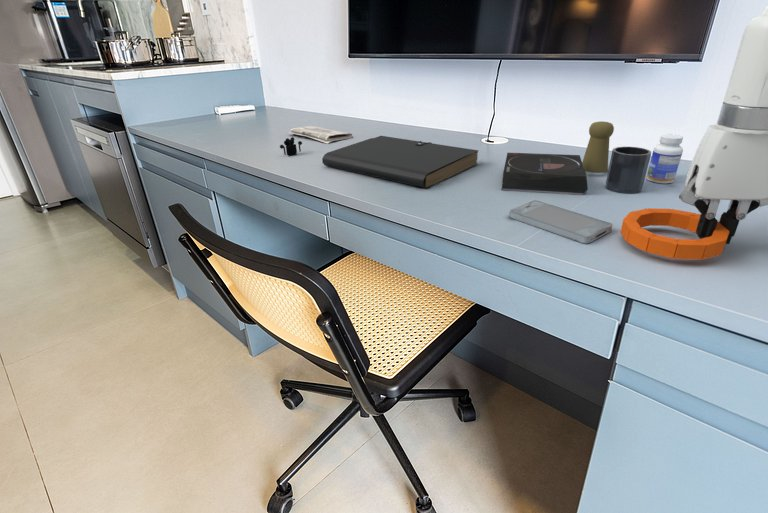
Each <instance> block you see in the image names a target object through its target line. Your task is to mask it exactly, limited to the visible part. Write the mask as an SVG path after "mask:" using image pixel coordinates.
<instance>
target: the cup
mask: <svg viewBox="0 0 768 513" xmlns="http://www.w3.org/2000/svg"><path fill="white" fill-rule="evenodd" d="M651 157H652V151H651V150H650V149H647V148H644V147H639V146H617V147H614V148H613V149H612V151H611V154H610V159H609V163H608V170H607V173H606V179H605V186H604V187H605V189H606V190H608V191H611V192H614V193H619V194H638V193H641V192H642V191H643V188H644V184H645V181H646V178H647V173H648V169H649V165H650V161H651Z"/></svg>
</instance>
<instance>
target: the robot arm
mask: <svg viewBox="0 0 768 513" xmlns="http://www.w3.org/2000/svg"><path fill="white" fill-rule="evenodd" d="M684 186H685V187H684V189H683V190H682V191H681V192H680V194H679V195H678V199H679V200H680V201H681V202H682V203H684V204H687V205H690V206H692V207H695V208H696V209H697V211H698V212H699V214H700V215H701V216H700V219H699V222H698V225H697V229H696V233H695V234H696V235H697V237H698V239H702V238H706V237H710V236H712V234H713V232H714V230H715V229H716V225H717V222H719V223H720V224H722V225H723V226H724V227H725V228H726V229H727V230H729V235H728V238H727V241H726V244H725V245H729V244H730V243H731V241H732V238H733V237H734V236H735V234H736V232H737V229H738V227H739V224H740V222H741V221H743V220H745V219H746V217H747V215H748V214H750V213H752V212H753V211H755V210H756V209H758V208H761V207H765V206H768V4H767V5H766V6H765V8H764V9H763V10H762V12H761V13H760V15H758V16H755V17H754V18H752V19H750V21H748V23H747V25H746V26H745V28H744V31H743V34H742V36H741V40H740V44H739V47H738V50H737V53H736V57H735V60H734V63H733V66H732V71H731V74H730V77H729V80H728V84H727V88H726V91H725V95H724V99H723V101H722V104H721V107H720V111H719V114H718V118H717V120H716V124H710V125H709V126H708V127H707V129H706V130H705V133H704V134H703V136H702V137H701V140H700V141H699V143H698V146H697V149H696V150H695V153H694V155H693V159H692V161H691V163H690V166H689V169H688V172H687V175H686V178H685V182H684ZM722 200H724V201H729V203H728V207H727V210H726V211H724V212H722V214H721V215H720V218H719V221H718V219H717V218H716V215H717V213H718V209H719V205H720V203H721V201H722Z"/></svg>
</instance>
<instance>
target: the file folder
mask: <svg viewBox="0 0 768 513" xmlns="http://www.w3.org/2000/svg"><path fill="white" fill-rule="evenodd" d="M478 154H479V150H478V149H472V148H466V147H459V146H453V145H446V144H440V143H439V144H437V143H432V142H426V141H422V140H420V141H419V140H413V139H412V140H411V139H406V138H399V137H391V136H386V135H379V136H376V137H372V138H368V139H365V140H362V141H359V142H356V143H352V144H350V145H347V146H343V147H340V148H337V149H334V150H331V151H328V152H326V153H325V154H324V155H323V156H322V164H323V165H324V166H327V167H331V168H335V169H340V170H345V171H348V172H353V173H358V174H361V175H366V176H371V177H374V178H375V177H376V178H379V179H383V180H388V181H392V182H398V183H402V184H406V185H411V186H415V187H419V188H423V189H430V188H432V187H434V186H436V185H438V184H440V183H442V182H444V181H446V180H448V179H450V178H452V177H454V176H457V175H458V174H460V173H462V172H465V171H467V170H469V169H470V168H473V167H475V166H477V165H478Z"/></svg>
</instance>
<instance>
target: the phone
mask: <svg viewBox="0 0 768 513" xmlns="http://www.w3.org/2000/svg"><path fill="white" fill-rule="evenodd" d="M509 218H510V219H513V220H516V221H519V222H521V223H525V224H527V225H530V226H532V227H536V228H538V229H541V230H543V231H547V232H550V233H552V234H555V235H558V236H561V237H564V238H566V239H568V240H569V239H570V240H572V241H575V242H577V243H581V244H585V245H588V244H591V243H593V242H595V241H596V240H598V239H600V238H602V237H603V236H605V235H607V234H609V233H611V231H612V229H613V223H611V222H609V221H606V220H601V219H600V218H595V217H592V216H589V215H587V214H582V213H579V212H575V211H573V210H569V209H567V208H566V209H565V208H563V207H560V206H556V205H553V204H550V203H546V202H543V201H539V200H532V201H529V202H526V203H523V204H521V205H519V206H516V207H513V208H511V209H510V210H509Z"/></svg>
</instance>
